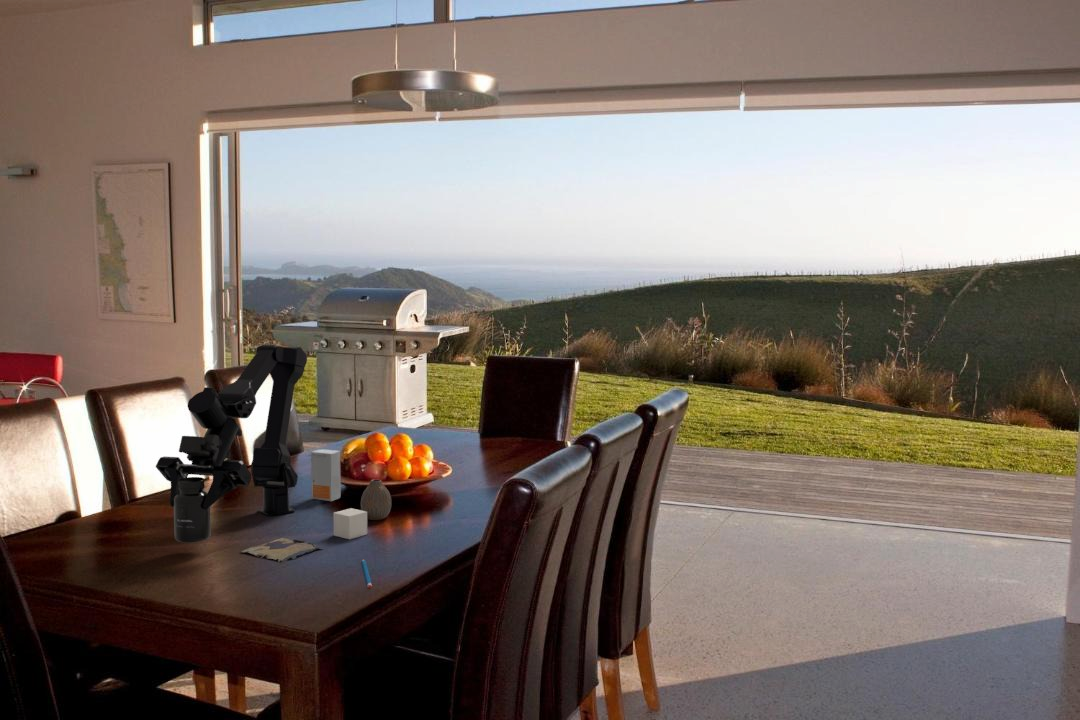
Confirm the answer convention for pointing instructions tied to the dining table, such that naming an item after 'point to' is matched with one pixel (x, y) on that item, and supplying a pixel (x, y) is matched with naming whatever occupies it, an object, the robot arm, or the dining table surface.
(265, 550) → the parchment
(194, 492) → the supplement bottle
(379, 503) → the vase
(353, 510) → the cream ceramic block
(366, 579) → the pencil
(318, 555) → the dining table surface
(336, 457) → the skincare box
